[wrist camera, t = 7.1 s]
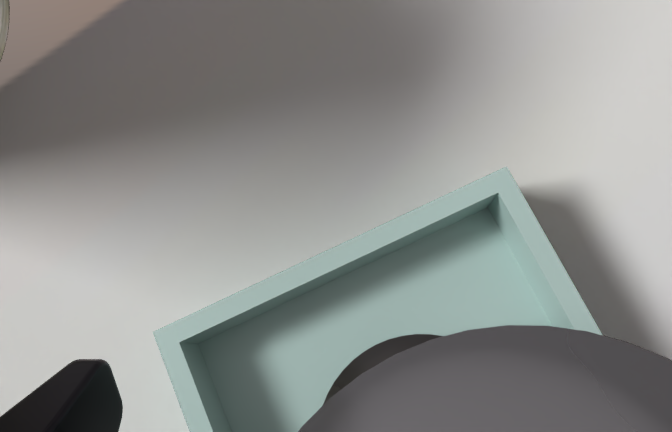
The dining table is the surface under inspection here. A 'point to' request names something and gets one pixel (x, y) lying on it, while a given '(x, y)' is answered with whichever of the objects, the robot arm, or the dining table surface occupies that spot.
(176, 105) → the dining table surface
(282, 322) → the tray
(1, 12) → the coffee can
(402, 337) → the grey cylinder
